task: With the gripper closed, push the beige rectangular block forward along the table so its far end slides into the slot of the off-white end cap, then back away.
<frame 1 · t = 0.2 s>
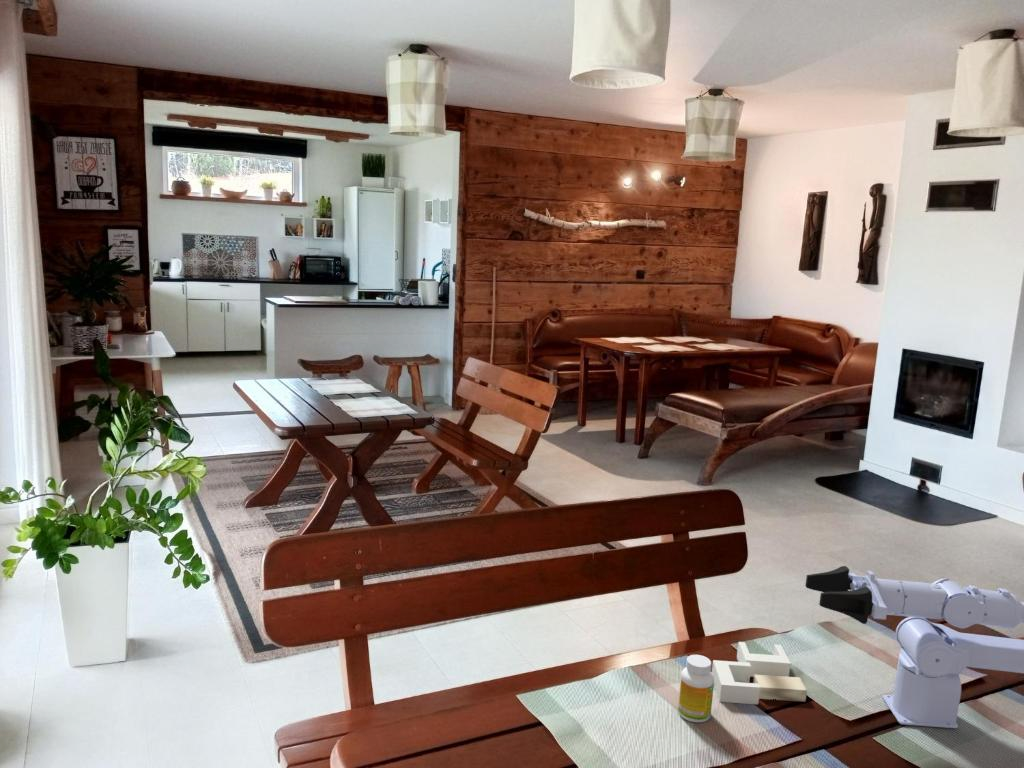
hand: (813, 590, 135), 21 cm above the table, tool horizontal, fingers open, 7 cm apart
beige rectangular block: (778, 695, 142), on the table
white u-shaped block: (761, 668, 150), on the table
supplement bottle: (693, 714, 135), on the table
end cap: (734, 689, 142), on the table
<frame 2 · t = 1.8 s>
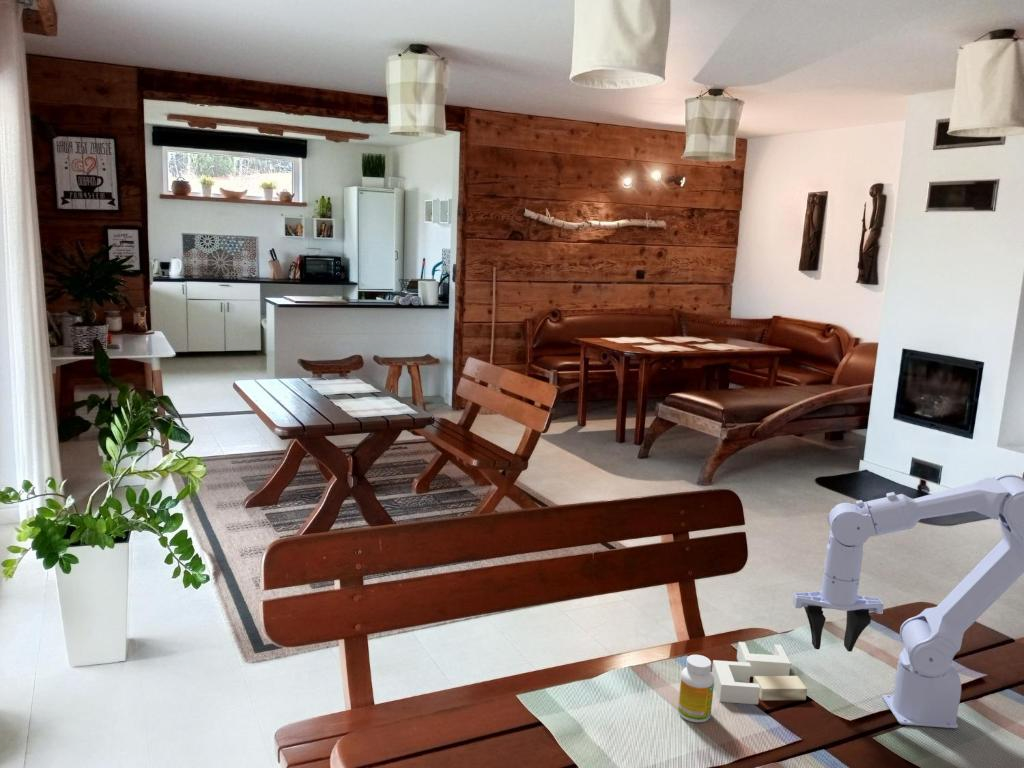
hand: (831, 647, 140), 9 cm above the table, tool pointing down, fingers open, 5 cm apart
nothing on the table moved.
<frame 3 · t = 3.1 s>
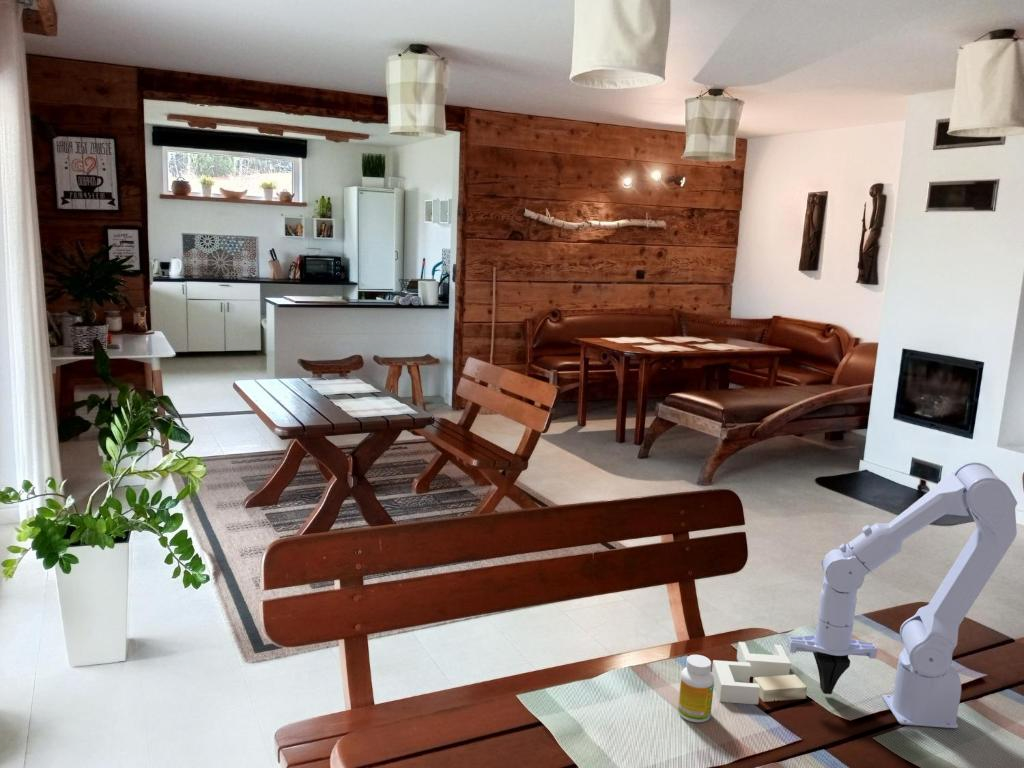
hand: (825, 690, 141), 1 cm above the table, tool pointing down, fingers closed
nothing on the table moved.
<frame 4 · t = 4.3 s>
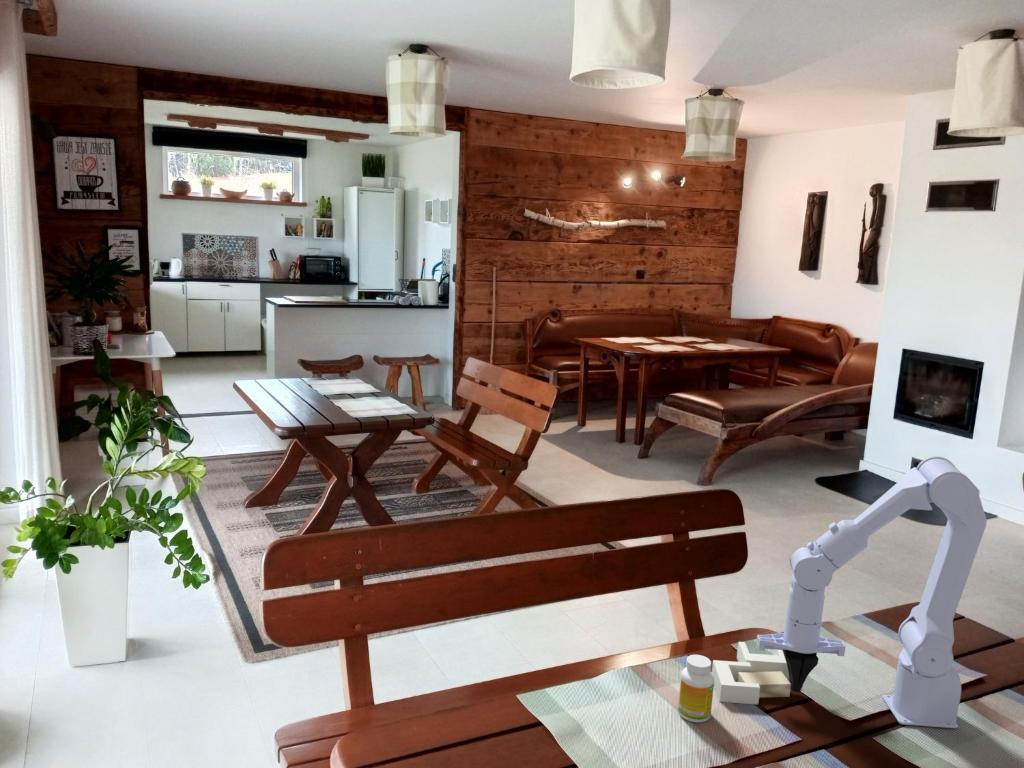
hand: (794, 688, 141), 1 cm above the table, tool pointing down, fingers closed
beige rectangular block: (762, 690, 142), on the table
everything else where it was.
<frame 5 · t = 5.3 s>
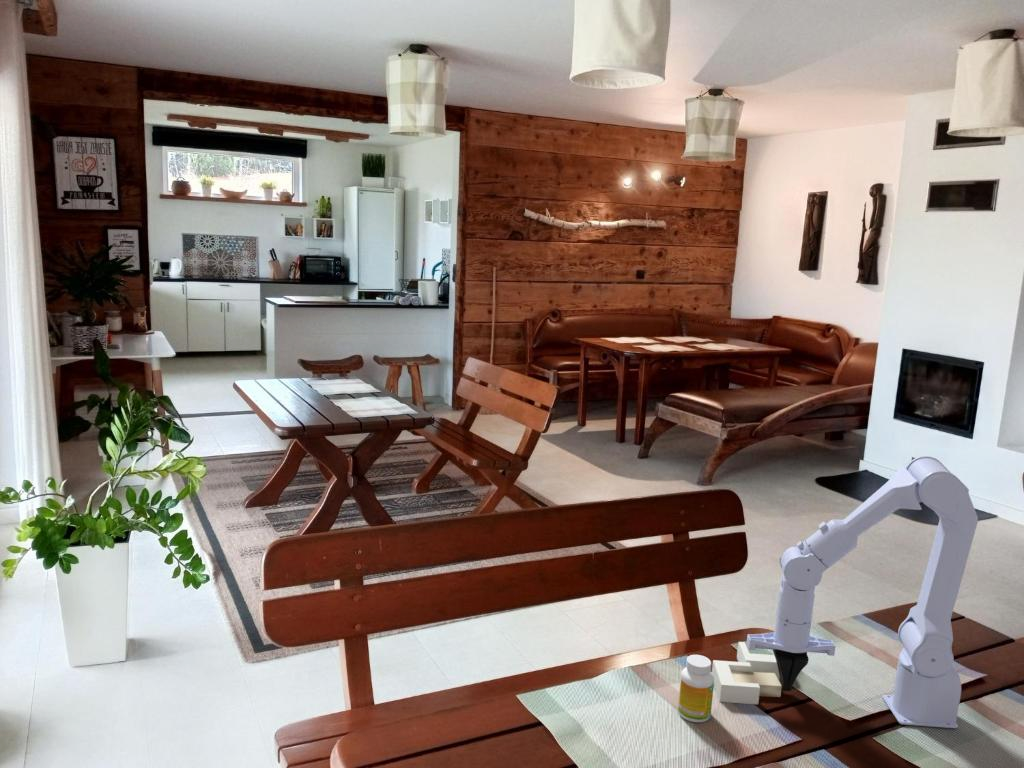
hand: (785, 687, 142), 1 cm above the table, tool pointing down, fingers closed
beige rectangular block: (754, 691, 143), on the table
everything else where it was.
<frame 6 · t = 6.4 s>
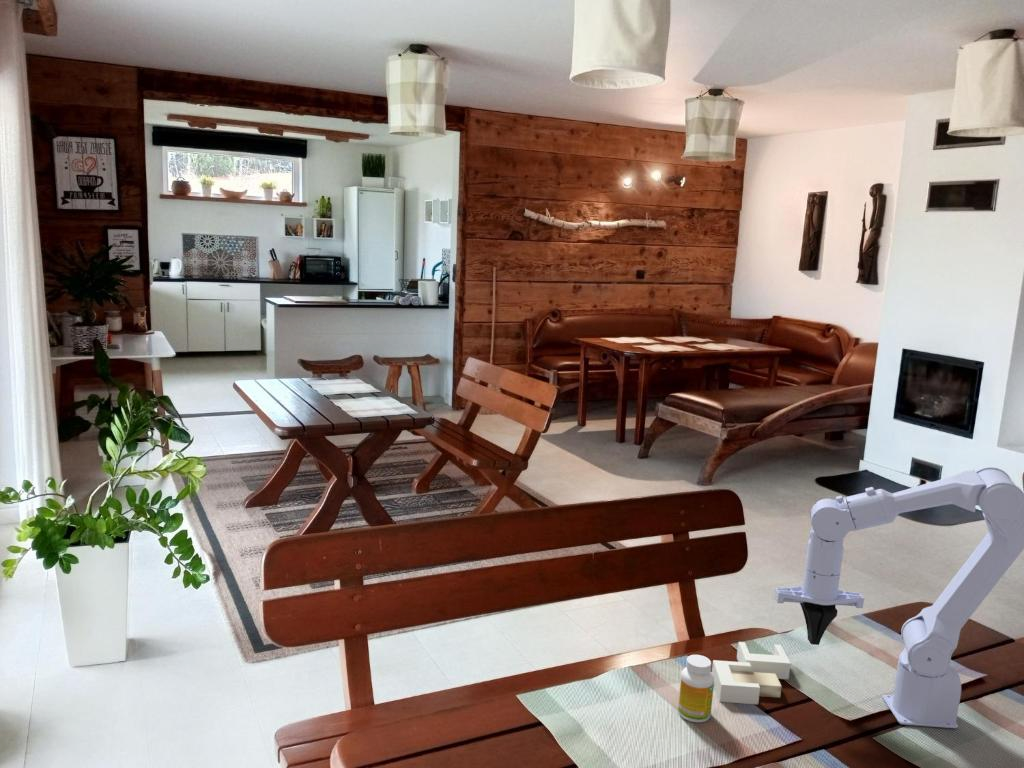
hand: (813, 641, 141), 9 cm above the table, tool pointing down, fingers closed
nothing on the table moved.
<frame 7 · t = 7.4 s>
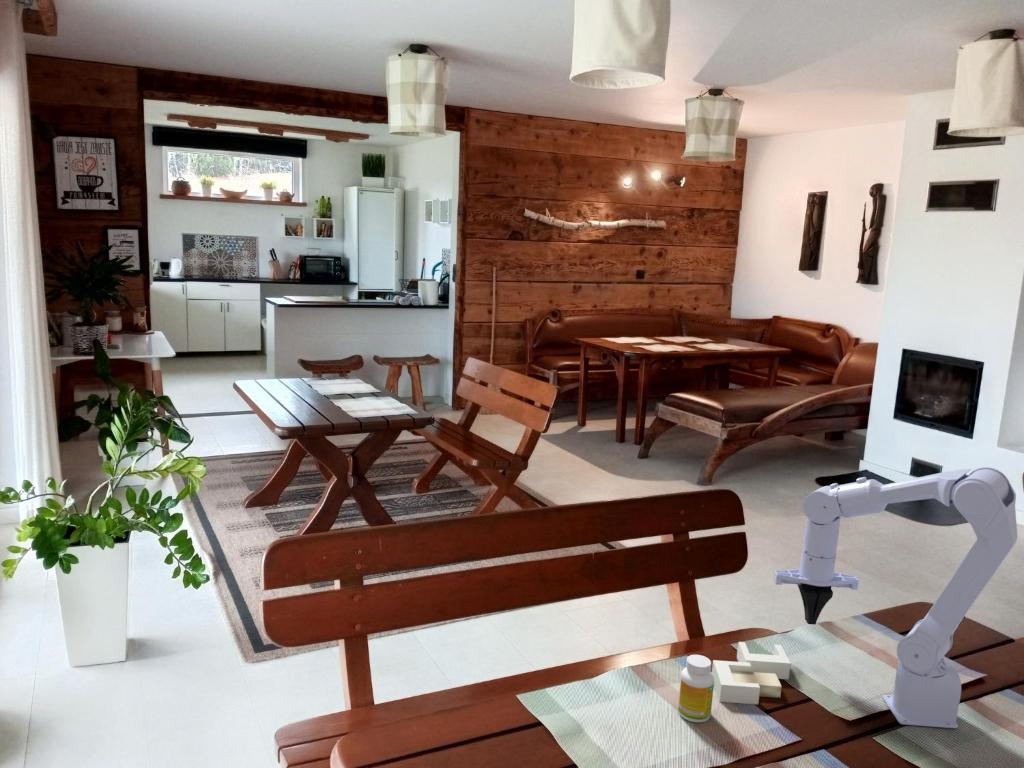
hand: (810, 621, 148), 9 cm above the table, tool pointing down, fingers closed
nothing on the table moved.
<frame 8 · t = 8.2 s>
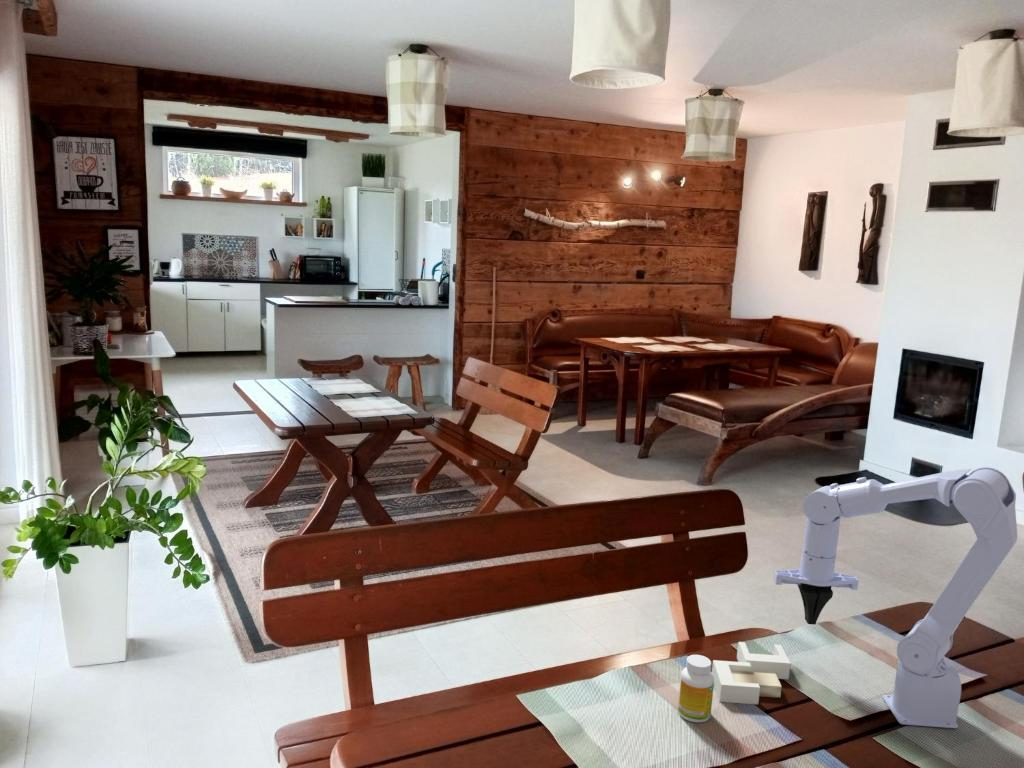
hand: (810, 621, 148), 9 cm above the table, tool pointing down, fingers closed
nothing on the table moved.
at the end: beige rectangular block 0.7 cm from the target spot on the end cap, point 0.0 cm above the end cap's base; beige rectangular block moved 4.2 cm from its start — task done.
